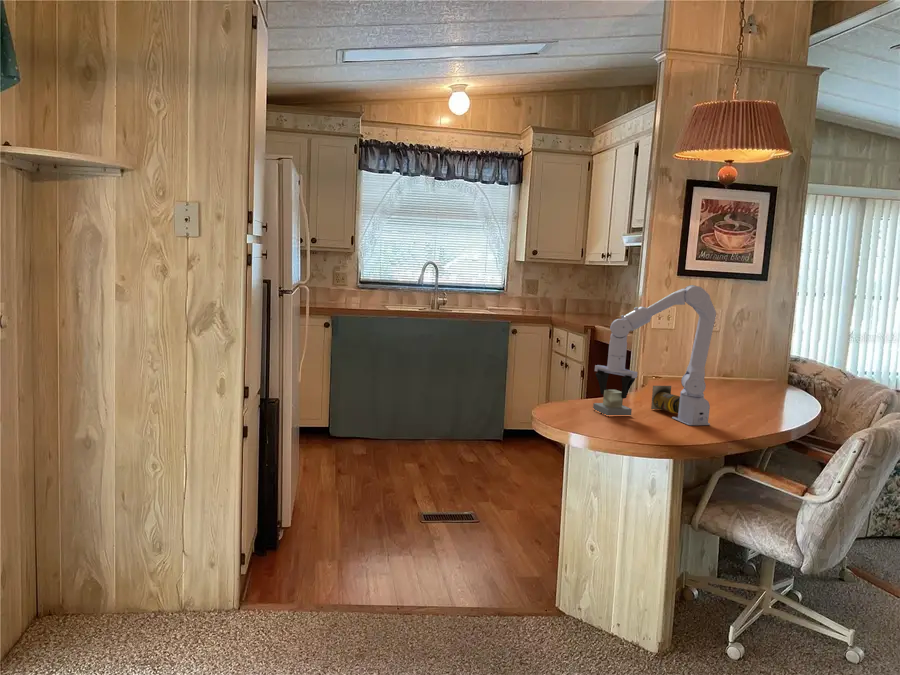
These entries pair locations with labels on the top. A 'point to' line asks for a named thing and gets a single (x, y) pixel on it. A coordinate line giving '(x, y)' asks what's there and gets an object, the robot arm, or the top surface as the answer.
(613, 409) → the plate
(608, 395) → the sage block
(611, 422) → the top surface
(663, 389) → the condiment
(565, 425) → the top surface
